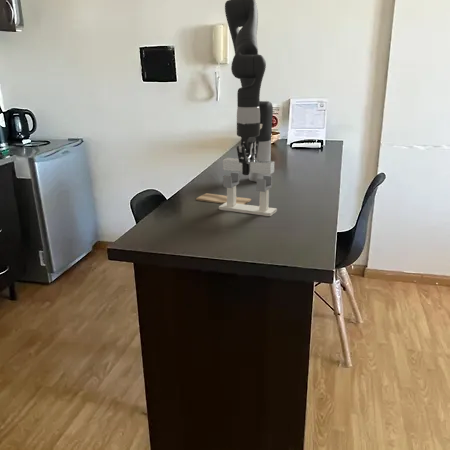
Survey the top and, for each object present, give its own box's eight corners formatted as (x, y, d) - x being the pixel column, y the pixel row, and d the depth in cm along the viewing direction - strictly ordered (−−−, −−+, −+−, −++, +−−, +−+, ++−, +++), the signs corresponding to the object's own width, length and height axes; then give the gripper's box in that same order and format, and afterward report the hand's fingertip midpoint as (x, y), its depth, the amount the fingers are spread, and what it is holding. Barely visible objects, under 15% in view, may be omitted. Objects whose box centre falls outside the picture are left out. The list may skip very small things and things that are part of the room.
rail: (227, 167, 156) (227, 157, 155) (274, 172, 149) (274, 161, 148) (223, 169, 153) (222, 159, 152) (270, 174, 146) (270, 163, 145)
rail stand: (226, 204, 162) (226, 171, 158) (277, 211, 154) (278, 176, 150) (218, 209, 156) (217, 175, 152) (270, 216, 148) (271, 180, 144)
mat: (206, 194, 175) (205, 193, 174) (251, 200, 167) (251, 198, 167) (195, 200, 168) (195, 198, 168) (242, 206, 160) (242, 204, 160)
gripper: (246, 118, 153) (246, 168, 159) (228, 123, 141) (229, 177, 147) (267, 119, 150) (266, 170, 156) (250, 124, 138) (250, 179, 144)
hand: (248, 173), depth 151 cm, fingers closed on rail, 3 cm apart
